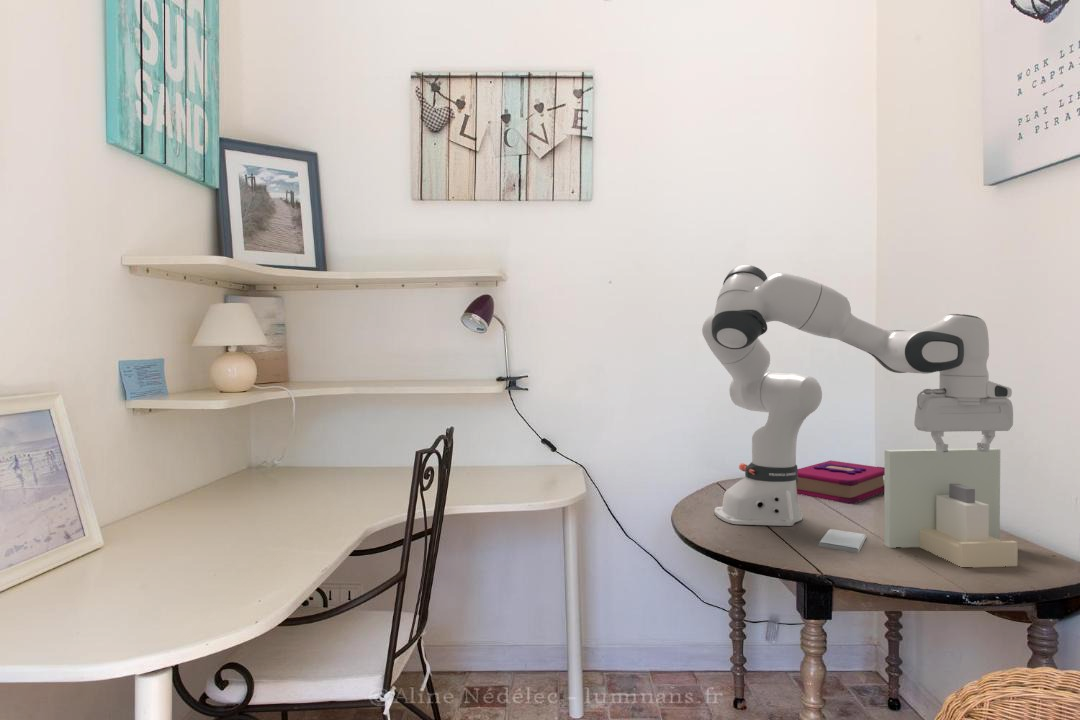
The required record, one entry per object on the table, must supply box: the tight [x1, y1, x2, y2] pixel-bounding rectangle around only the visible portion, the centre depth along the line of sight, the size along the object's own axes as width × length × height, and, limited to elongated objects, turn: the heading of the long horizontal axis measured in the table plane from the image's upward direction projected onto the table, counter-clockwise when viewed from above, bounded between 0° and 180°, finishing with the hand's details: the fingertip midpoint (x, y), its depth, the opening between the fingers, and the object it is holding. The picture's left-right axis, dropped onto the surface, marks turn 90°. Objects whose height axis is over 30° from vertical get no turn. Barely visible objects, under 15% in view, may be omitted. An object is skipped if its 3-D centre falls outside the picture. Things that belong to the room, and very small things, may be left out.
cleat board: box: [883, 447, 1019, 568], centre depth 134 cm, size 26×15×22 cm, turn 93°
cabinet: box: [936, 484, 989, 542], centre depth 134 cm, size 5×9×11 cm, turn 3°
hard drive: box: [818, 528, 867, 554], centre depth 143 cm, size 2×8×12 cm
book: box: [796, 459, 885, 505], centre depth 193 cm, size 21×28×8 cm
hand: (962, 451), depth 134 cm, fingers open, 8 cm apart
